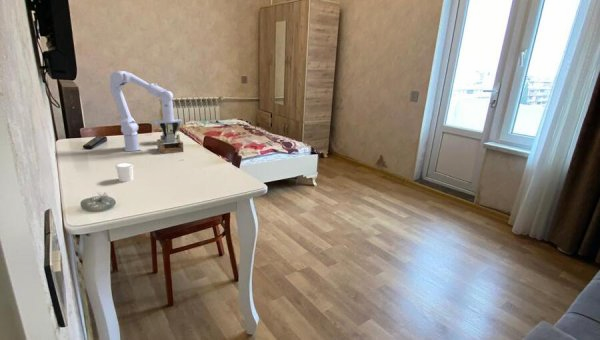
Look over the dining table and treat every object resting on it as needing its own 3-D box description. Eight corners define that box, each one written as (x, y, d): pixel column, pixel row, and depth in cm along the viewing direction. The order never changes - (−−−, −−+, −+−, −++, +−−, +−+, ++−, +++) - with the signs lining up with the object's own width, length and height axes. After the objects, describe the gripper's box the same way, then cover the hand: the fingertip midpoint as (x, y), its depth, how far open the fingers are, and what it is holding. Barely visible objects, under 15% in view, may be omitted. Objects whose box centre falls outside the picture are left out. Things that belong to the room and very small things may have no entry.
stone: (167, 142, 187) (166, 134, 186) (165, 140, 191) (165, 133, 189) (175, 141, 190) (174, 134, 188) (173, 140, 193) (172, 132, 192)
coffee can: (173, 139, 216) (171, 118, 212) (183, 142, 211) (182, 121, 207) (159, 142, 208) (157, 120, 204) (169, 145, 203) (168, 123, 198)
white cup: (123, 183, 141) (121, 168, 139) (114, 179, 144) (112, 165, 142) (138, 179, 147) (136, 164, 144) (129, 175, 150) (127, 161, 148)
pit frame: (157, 148, 195) (156, 138, 193) (177, 146, 201) (177, 137, 199) (162, 153, 185) (161, 143, 183) (183, 151, 191) (182, 141, 189)
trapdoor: (159, 140, 194) (159, 135, 193) (174, 139, 199) (174, 134, 198) (163, 144, 187) (163, 139, 186) (178, 142, 191) (178, 137, 190)
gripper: (179, 110, 192) (180, 133, 196) (152, 111, 184) (155, 135, 189) (182, 112, 187) (184, 135, 191) (155, 113, 179) (157, 138, 183)
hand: (169, 135), depth 189 cm, fingers closed on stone, 4 cm apart
